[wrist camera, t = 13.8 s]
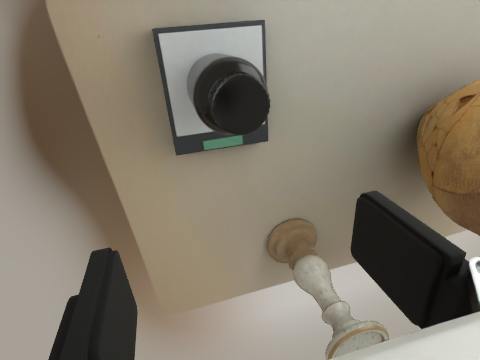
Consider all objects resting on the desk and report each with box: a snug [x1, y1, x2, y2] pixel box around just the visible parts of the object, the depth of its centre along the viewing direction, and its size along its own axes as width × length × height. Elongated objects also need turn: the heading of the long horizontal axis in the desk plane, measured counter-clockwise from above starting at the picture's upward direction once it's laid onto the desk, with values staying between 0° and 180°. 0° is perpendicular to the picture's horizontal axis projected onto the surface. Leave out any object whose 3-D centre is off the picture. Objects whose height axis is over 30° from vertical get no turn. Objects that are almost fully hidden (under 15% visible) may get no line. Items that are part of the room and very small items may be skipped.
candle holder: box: [267, 219, 389, 360], centre depth 41 cm, size 9×9×20 cm
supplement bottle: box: [187, 53, 270, 135], centre depth 28 cm, size 7×7×12 cm
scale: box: [152, 20, 268, 155], centre depth 35 cm, size 12×14×3 cm
